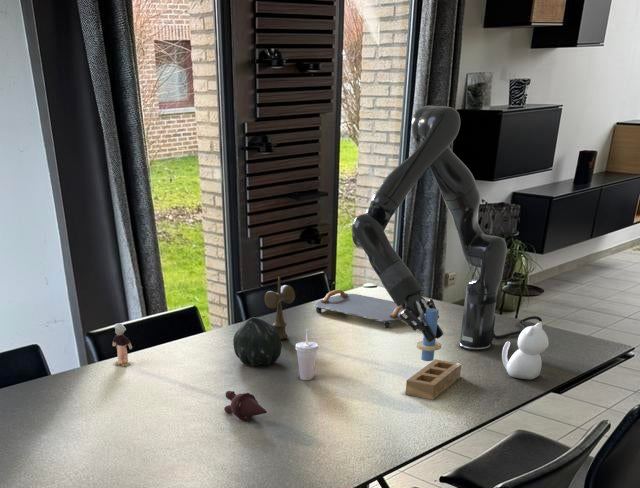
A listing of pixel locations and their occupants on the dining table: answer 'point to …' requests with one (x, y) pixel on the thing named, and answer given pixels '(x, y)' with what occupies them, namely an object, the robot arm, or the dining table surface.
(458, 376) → the rack
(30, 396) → the dining table surface
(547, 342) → the cat figurine
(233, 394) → the red gnome figurine
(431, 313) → the peg
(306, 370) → the smoothie
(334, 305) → the serving tray
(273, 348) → the squash
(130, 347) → the grandmother figurine
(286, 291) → the kendama
